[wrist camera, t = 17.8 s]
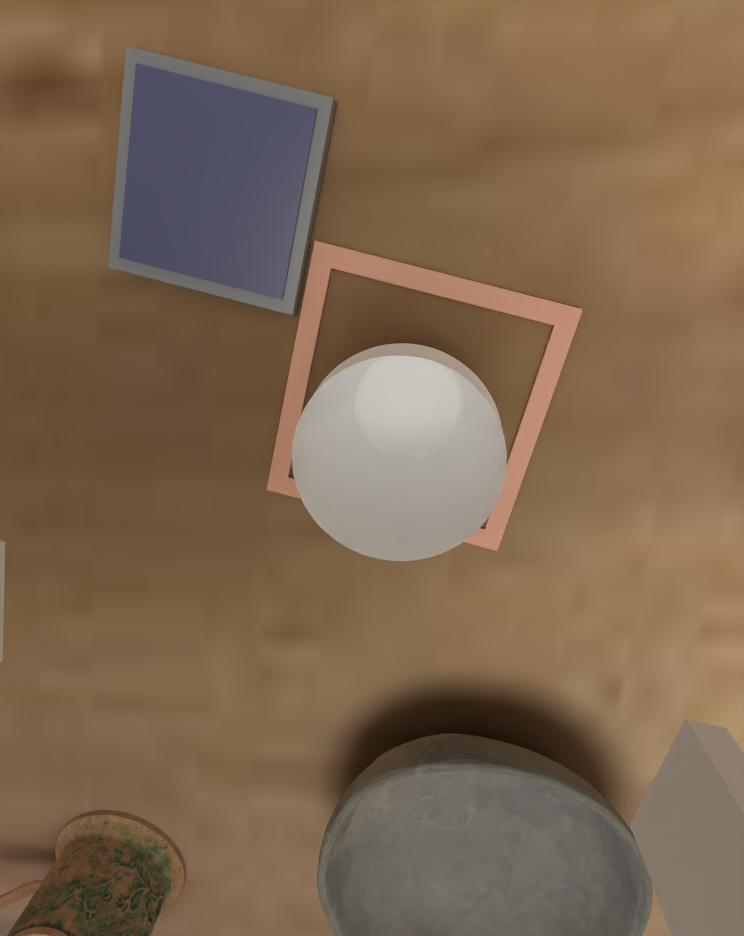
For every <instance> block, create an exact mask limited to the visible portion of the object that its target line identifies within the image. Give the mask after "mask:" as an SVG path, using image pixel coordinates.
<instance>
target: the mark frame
mask: <svg viewBox="0 0 744 936" xmlns="http://www.w3.org/2000/svg"><path fill="white" fill-rule="evenodd" d="M332 268H333V269H337V270H341V271H345V272H348V273H352V274H356V275H360V276H364V277H368V278H372V279H376V280H380V281H383V282H387V283H391V284H395V285H399V286H403V287H407V288H411V289H415V290H418V291H422V292H426V293H430V294H434V295H438V296H442V297H446V298H449V299H453V300H457V301H461V302H465V303H469V304H473V305H477V306H481V307H484V308H488V309H492V310H496V311H500V312H504V313H508V314H512V315H516V316H519V317H523V318H527V319H531V320H535V321H539V322H543V323H547V324H551V325H553V328H552V331H551V334H550V337H549V340H548V342H547V345H546V348H545V351H544V354H543V357H542V360H541V363H540V366H539V369H538V372H537V375H536V378H535V381H534V384H533V387H532V389H531V392H530V395H529V398H528V401H527V404H526V407H525V410H524V413H523V416H522V419H521V422H520V425H519V428H518V431H517V434H516V436H515V439H514V442H513V445H512V448H511V451H510V454H509V457H508V460H507V467H506V476H505V481H504V485H503V489H502V492H501V494H500V497H499V499H498V502H497V504H496V506H495V507H494V509H493V511H492V513H491V514H490V516H489V517H488V519H487V522H486V525H485V528H483V527H480V528H479V529H478V530H477V531H476V532H475V533H474V534H473V535H472V536H470V537H469V538H468V539H467V540H465V541H464V542H465V543H469V544H473V545H476V546H480V547H484V548H488V549H491V550H495V551H498V548H499V545H500V542H501V539H502V536H503V534H504V531H505V528H506V525H507V522H508V520H509V517H510V514H511V511H512V508H513V505H514V503H515V500H516V497H517V494H518V491H519V488H520V486H521V483H522V480H523V477H524V474H525V472H526V469H527V466H528V463H529V460H530V457H531V455H532V452H533V449H534V446H535V443H536V440H537V438H538V435H539V432H540V429H541V426H542V424H543V421H544V418H545V415H546V412H547V409H548V407H549V404H550V401H551V398H552V395H553V392H554V390H555V387H556V384H557V381H558V378H559V376H560V373H561V370H562V367H563V364H564V361H565V359H566V356H567V353H568V350H569V347H570V344H571V342H572V339H573V336H574V333H575V330H576V328H577V325H578V322H579V319H580V316H581V313H582V311H583V309H580V308H576V307H572V306H568V305H564V304H560V303H556V302H553V301H549V300H545V299H541V298H537V297H533V296H529V295H525V294H521V293H517V292H514V291H510V290H506V289H502V288H498V287H494V286H490V285H486V284H482V283H478V282H475V281H471V280H467V279H463V278H459V277H455V276H451V275H447V274H443V273H440V272H436V271H432V270H428V269H424V268H420V267H416V266H412V265H408V264H404V263H401V262H397V261H393V260H389V259H385V258H381V257H377V256H373V255H369V254H365V253H362V252H358V251H354V250H350V249H346V248H342V247H338V246H334V245H330V244H326V243H323V242H319V241H315V242H314V247H313V252H312V257H311V263H310V268H309V273H308V278H307V283H306V288H305V294H304V299H303V304H302V309H301V314H300V319H299V324H298V330H297V335H296V340H295V345H294V350H293V355H292V361H291V366H290V371H289V376H288V381H287V386H286V392H285V397H284V402H283V407H282V412H281V417H280V423H279V428H278V433H277V438H276V443H275V448H274V454H273V459H272V464H271V469H270V474H269V479H268V484H267V490H269V491H273V492H277V493H281V494H284V495H288V496H292V497H296V498H299V499H301V497H300V495H299V492H298V490H297V487H296V483H295V479H294V477H290V476H289V473H290V469H291V464H292V445H293V438H294V434H295V430H296V426H297V424H298V421H299V418H300V416H301V414H302V410H303V405H304V401H305V396H306V391H307V386H308V381H309V376H310V372H311V367H312V362H313V357H314V352H315V347H316V342H317V338H318V333H319V328H320V323H321V318H322V313H323V308H324V304H325V299H326V294H327V289H328V284H329V279H330V275H331V270H332Z"/></svg>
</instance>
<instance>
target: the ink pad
mask: <svg viewBox="0 0 744 936" xmlns="http://www.w3.org/2000/svg"><path fill="white" fill-rule="evenodd" d="M336 105H337V103H336V101H335V100H334V98H333V97H329V96H325V95H321V94H317V93H313V92H309V91H305V90H301V89H297V88H293V87H289V86H285V85H281V84H277V83H273V82H269V81H265V80H261V79H257V78H253V77H250V76H246V75H242V74H238V73H234V72H230V71H226V70H222V69H218V68H214V67H210V66H206V65H202V64H198V63H194V62H190V61H186V60H182V59H178V58H174V57H170V56H166V55H162V54H158V53H154V52H150V51H146V50H142V49H138V48H134V47H130V46H126V53H125V65H124V77H123V89H122V102H121V114H120V126H119V138H118V151H117V163H116V175H115V188H114V200H113V212H112V224H111V237H110V249H109V261H108V268H112V269H116V270H120V271H124V272H128V273H131V274H135V275H139V276H143V277H147V278H151V279H155V280H158V281H162V282H166V283H170V284H174V285H178V286H182V287H185V288H189V289H193V290H197V291H201V292H205V293H209V294H212V295H216V296H220V297H224V298H228V299H232V300H236V301H239V302H243V303H247V304H251V305H255V306H259V307H263V308H266V309H270V310H274V311H278V312H282V313H286V314H290V315H296V314H297V308H298V303H299V298H300V293H301V288H302V282H303V277H304V272H305V267H306V261H307V256H308V251H309V246H310V241H311V235H312V230H313V225H314V220H315V214H316V209H317V204H318V199H319V194H320V188H321V183H322V178H323V173H324V167H325V162H326V157H327V152H328V147H329V141H330V136H331V131H332V126H333V120H334V115H335V110H336Z"/></svg>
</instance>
